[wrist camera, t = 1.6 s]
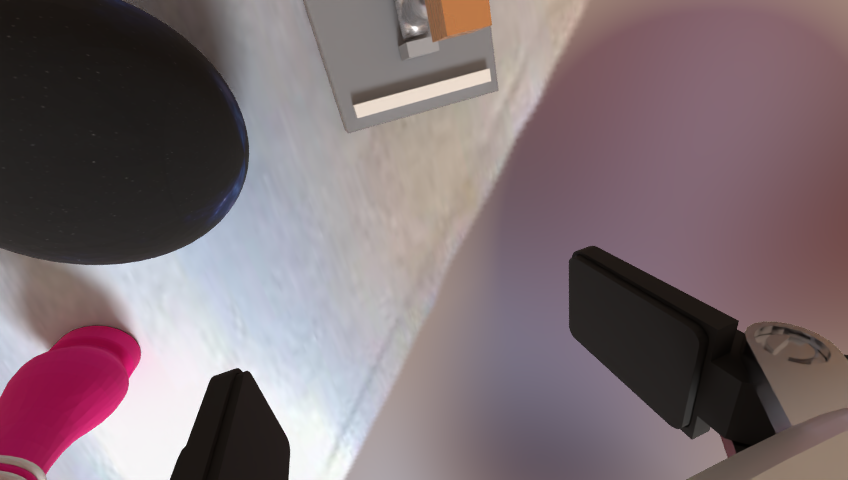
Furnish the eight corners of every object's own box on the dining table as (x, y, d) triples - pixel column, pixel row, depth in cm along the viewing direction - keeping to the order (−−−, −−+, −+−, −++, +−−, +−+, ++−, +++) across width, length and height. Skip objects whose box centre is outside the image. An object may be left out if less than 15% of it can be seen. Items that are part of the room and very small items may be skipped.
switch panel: (281, -66, 25) (275, -106, 20) (457, -96, 27) (490, -138, 22) (345, 130, 31) (351, 136, 26) (483, 91, 33) (513, 90, 28)
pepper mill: (26, 344, 30) (-385, 706, 12) (110, 306, 31) (-160, 593, 13) (91, 395, 33) (-158, 737, 15) (165, 360, 34) (9, 645, 16)
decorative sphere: (71, 225, 27) (-150, 344, 14) (-17, 3, 22) (-526, -141, 8) (273, 211, 32) (248, 294, 18) (244, 24, 26) (178, -51, 13)
